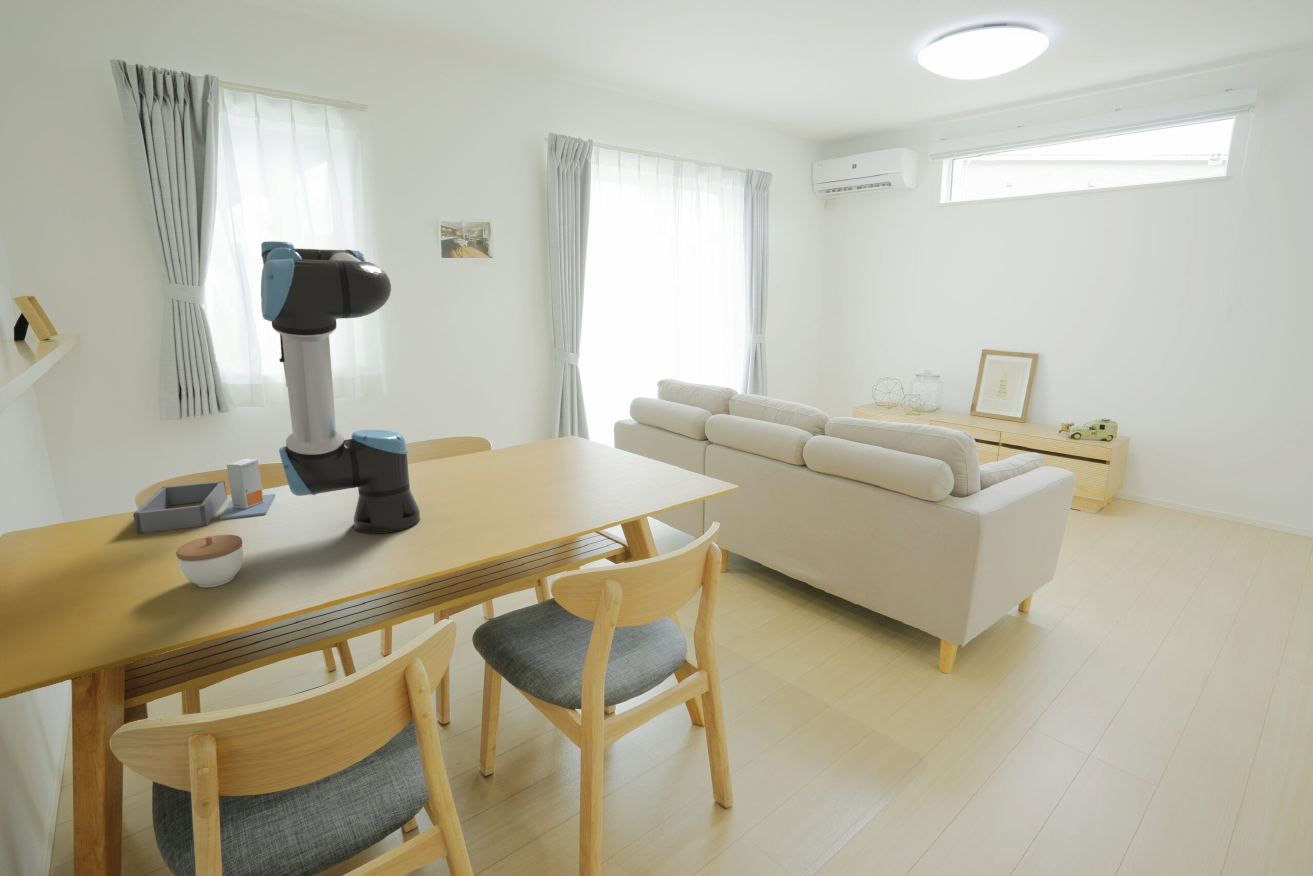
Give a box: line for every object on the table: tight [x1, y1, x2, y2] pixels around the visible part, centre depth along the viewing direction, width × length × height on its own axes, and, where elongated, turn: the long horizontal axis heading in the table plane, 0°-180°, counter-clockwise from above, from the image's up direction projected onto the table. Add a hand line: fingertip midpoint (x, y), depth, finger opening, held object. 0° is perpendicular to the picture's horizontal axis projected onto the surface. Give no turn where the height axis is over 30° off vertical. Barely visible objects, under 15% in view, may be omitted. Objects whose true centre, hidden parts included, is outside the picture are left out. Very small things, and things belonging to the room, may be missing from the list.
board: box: [219, 493, 276, 521], centre depth 167 cm, size 16×10×1 cm, turn 23°
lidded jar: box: [175, 534, 244, 589], centre depth 125 cm, size 11×11×9 cm
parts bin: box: [133, 480, 228, 535], centre depth 161 cm, size 22×14×5 cm, turn 23°
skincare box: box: [226, 458, 264, 509], centre depth 166 cm, size 6×4×12 cm
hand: (296, 383), depth 170 cm, fingers open, 13 cm apart
